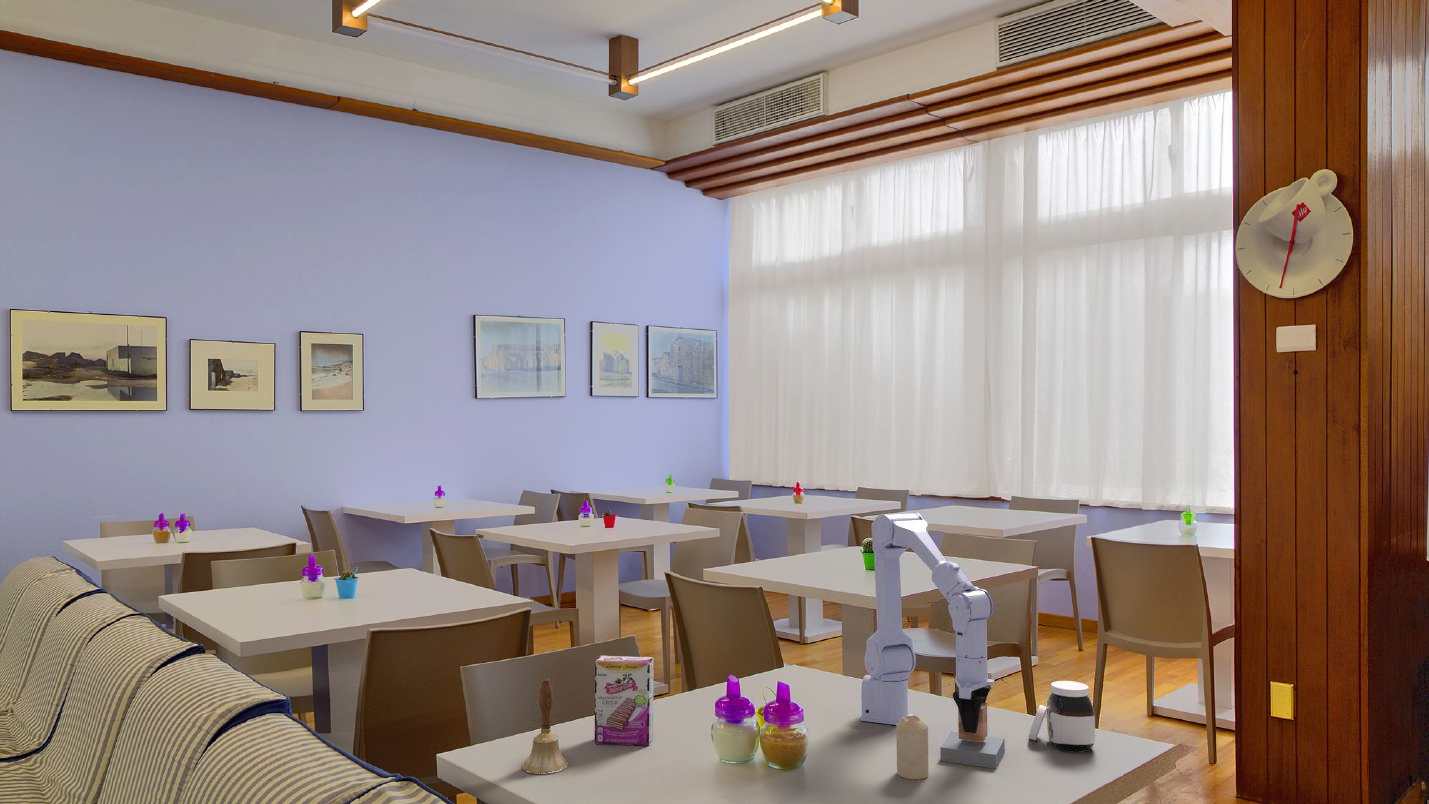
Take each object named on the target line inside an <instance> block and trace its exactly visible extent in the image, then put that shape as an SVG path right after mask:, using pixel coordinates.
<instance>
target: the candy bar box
mask: <svg viewBox="0 0 1429 804" xmlns="http://www.w3.org/2000/svg"><path fill="white" fill-rule="evenodd" d="M654 663H655V661H654V657H652V656H651V657H650V656H626V655H625V656H623V655H599V657H598V658H597V659H596V660H595V662H594V744H595V745H612V744H622V745H621V746H645V747H646V746H650V744H651V742H652V741H653V739H654V687H655V686H654V672H655V671H654Z"/></svg>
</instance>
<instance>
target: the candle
mask: <svg viewBox="0 0 1429 804" xmlns="http://www.w3.org/2000/svg"><path fill="white" fill-rule="evenodd" d="M895 727H896V729H895V730H896V731H895V732H896V733H895V734H896V735H895V737H896V773H897V775H898V776H899V777H901V778H903V779H907V780H915V779H917V780H923V779H926V778H928V777H929V727H928V725H927V724H926V723H925V722H924V721H923V720H922V719H921V718H919V717H918V716H917V715H914V716H906V717H905V718H902V719H901V720H900V721H899V722H898V723H897V725H895ZM927 776H928V777H927Z"/></svg>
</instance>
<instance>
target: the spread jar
mask: <svg viewBox="0 0 1429 804" xmlns="http://www.w3.org/2000/svg"><path fill="white" fill-rule="evenodd" d="M1050 689H1051V693H1050V694H1049V696H1048V697H1047V701H1046V706H1045V705H1041V704H1039V706H1038V709H1037V711H1036V713H1035V717H1034V719H1033V722H1032V725H1031V728H1030V729H1029V733H1028V739H1031V740H1033V741H1036V739H1037V738H1038V736H1039V732H1040V729H1041V727H1042V724H1043V722H1044V719H1045V717H1046V726H1047V727H1046V729H1047V736H1048V739H1049V742H1050V744H1051V745H1052V747H1054V748H1056V749H1058V750H1061V751H1064V752H1071V751H1073V752H1074V753H1081V751H1083V752H1087V751H1090V750H1091V749H1092V748H1093V747H1094V745H1095V742H1096V741H1095V740H1096V719H1095V718H1096V717H1095V709H1094V707H1093V703H1092V701H1091V699H1090V697H1089V692H1090V690H1089V689H1090V688H1089V685H1087V684H1085V683H1082V682H1078V681H1072V680H1058V681H1054V682H1051V683H1050Z"/></svg>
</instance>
